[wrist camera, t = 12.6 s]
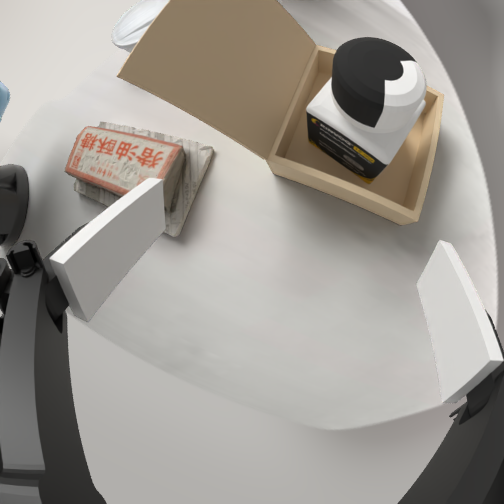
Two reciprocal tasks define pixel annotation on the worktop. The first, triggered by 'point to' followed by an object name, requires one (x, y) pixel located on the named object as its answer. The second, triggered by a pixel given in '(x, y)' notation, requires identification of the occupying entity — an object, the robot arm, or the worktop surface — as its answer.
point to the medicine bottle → (367, 105)
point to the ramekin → (135, 23)
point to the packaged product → (138, 167)
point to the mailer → (272, 96)
